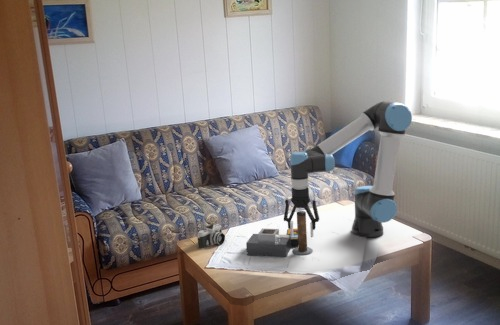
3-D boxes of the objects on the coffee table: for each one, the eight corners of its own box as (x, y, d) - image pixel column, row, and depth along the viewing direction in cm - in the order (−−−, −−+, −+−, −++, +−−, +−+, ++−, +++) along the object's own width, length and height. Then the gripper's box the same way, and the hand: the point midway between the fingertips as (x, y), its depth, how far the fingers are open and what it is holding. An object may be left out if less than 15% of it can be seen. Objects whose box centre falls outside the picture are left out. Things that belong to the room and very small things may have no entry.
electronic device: (304, 234, 260) (303, 227, 260) (304, 245, 245) (304, 238, 245) (286, 234, 261) (286, 227, 261) (286, 245, 246) (285, 238, 245)
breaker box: (291, 247, 245) (290, 227, 243) (286, 257, 234) (285, 237, 232) (254, 245, 250) (252, 226, 248) (247, 255, 239) (245, 235, 237)
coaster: (314, 247, 242) (314, 247, 242) (311, 255, 234) (311, 254, 234) (294, 247, 245) (294, 246, 245) (291, 254, 236) (291, 253, 236)
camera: (208, 252, 246) (207, 231, 244) (195, 248, 251) (193, 228, 249) (230, 241, 258) (229, 221, 256) (217, 238, 263) (215, 219, 261)
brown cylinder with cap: (307, 248, 241) (306, 211, 237) (306, 252, 237) (304, 213, 233) (299, 248, 242) (297, 210, 238) (297, 251, 238) (295, 213, 234)
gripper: (325, 185, 234) (326, 233, 239) (278, 184, 240) (280, 232, 244) (322, 189, 227) (324, 239, 231) (274, 189, 233) (277, 237, 237)
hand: (302, 235), depth 238 cm, fingers open, 8 cm apart
